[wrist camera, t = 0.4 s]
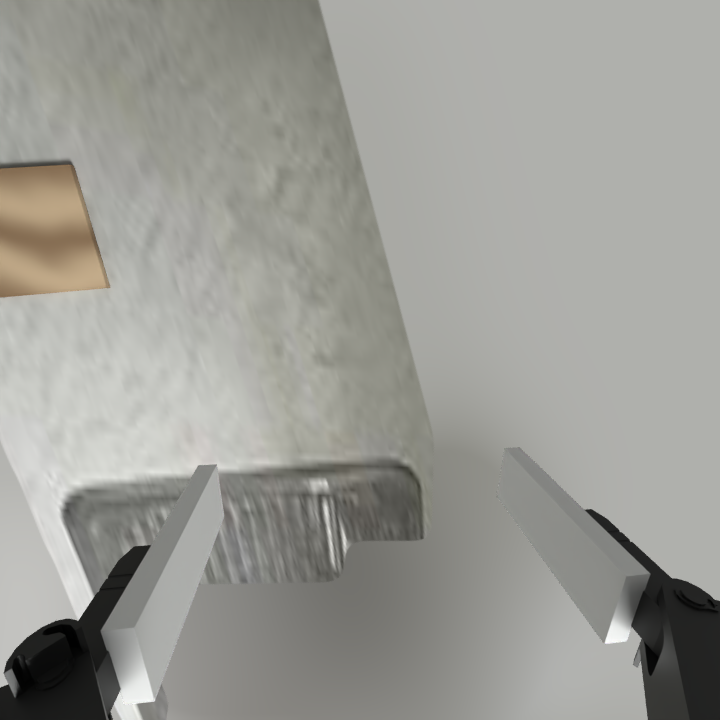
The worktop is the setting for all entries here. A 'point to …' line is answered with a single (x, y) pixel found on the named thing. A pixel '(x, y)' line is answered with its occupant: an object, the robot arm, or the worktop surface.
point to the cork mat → (46, 233)
